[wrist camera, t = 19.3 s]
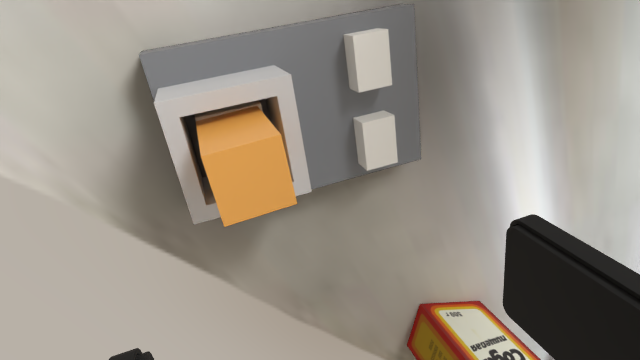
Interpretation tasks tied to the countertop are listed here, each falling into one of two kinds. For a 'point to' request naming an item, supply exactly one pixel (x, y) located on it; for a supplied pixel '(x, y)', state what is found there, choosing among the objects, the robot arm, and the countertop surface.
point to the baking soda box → (463, 334)
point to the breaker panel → (297, 96)
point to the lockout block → (245, 164)
